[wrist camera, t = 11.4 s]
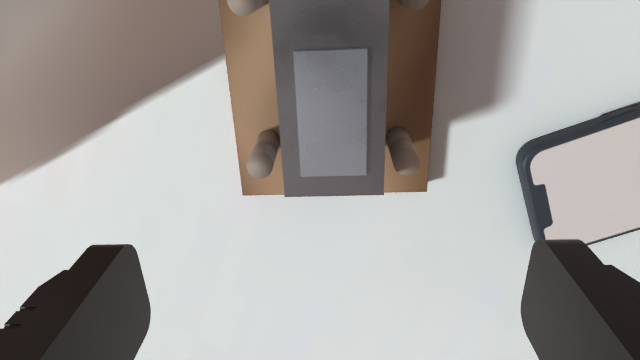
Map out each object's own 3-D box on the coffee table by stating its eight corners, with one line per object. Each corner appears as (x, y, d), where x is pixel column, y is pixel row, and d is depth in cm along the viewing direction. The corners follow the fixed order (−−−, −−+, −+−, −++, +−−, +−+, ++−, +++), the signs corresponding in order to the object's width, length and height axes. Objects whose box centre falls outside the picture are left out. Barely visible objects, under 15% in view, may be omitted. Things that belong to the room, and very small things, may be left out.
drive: (376, -27, 24) (390, -23, 18) (374, 149, 28) (384, 196, 23) (282, -24, 24) (266, -19, 18) (293, 151, 28) (284, 198, 23)
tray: (442, -94, 23) (470, -108, 19) (423, 183, 30) (440, 223, 26) (213, -84, 24) (184, -95, 19) (246, 187, 31) (230, 227, 26)
